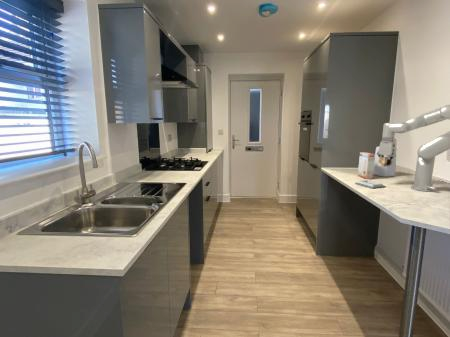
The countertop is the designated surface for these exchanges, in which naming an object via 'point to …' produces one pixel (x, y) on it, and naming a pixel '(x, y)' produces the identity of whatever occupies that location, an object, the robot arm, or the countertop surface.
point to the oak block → (383, 161)
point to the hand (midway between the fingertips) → (384, 164)
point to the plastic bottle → (384, 170)
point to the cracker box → (366, 165)
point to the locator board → (370, 184)
